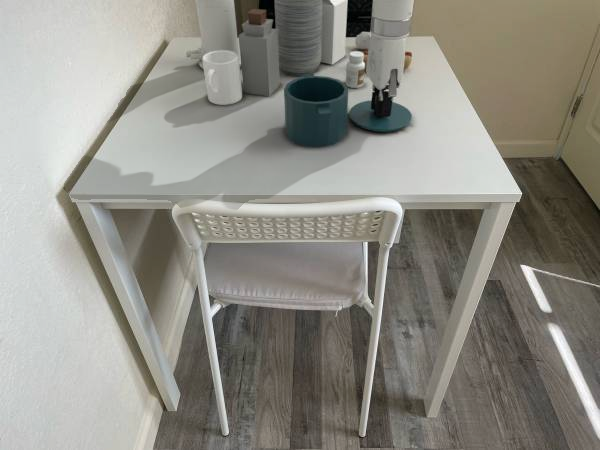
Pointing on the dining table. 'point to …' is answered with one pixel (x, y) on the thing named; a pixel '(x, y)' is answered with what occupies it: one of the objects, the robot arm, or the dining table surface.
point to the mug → (222, 77)
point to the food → (406, 61)
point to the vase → (299, 35)
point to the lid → (368, 120)
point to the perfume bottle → (259, 54)
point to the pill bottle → (355, 70)
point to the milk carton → (333, 30)
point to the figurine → (363, 40)
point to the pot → (315, 110)
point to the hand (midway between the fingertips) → (380, 111)
